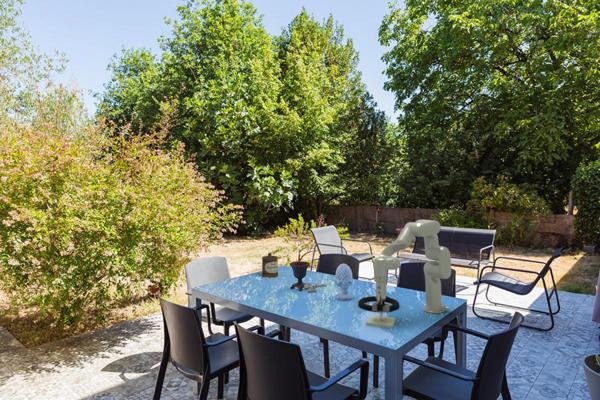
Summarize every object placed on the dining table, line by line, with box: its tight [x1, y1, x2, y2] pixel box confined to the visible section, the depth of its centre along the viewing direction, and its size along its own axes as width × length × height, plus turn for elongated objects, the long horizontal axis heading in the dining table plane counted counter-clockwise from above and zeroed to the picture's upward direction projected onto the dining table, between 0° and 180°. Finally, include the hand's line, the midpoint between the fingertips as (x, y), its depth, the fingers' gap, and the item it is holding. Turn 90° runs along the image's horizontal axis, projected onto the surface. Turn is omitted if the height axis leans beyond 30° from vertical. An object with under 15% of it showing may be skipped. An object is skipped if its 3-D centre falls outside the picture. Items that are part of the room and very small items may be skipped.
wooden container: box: [261, 252, 279, 279], centre depth 353 cm, size 15×15×22 cm
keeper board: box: [365, 312, 397, 329], centre depth 221 cm, size 15×14×6 cm
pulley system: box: [303, 282, 328, 293], centre depth 305 cm, size 27×5×15 cm
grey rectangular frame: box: [371, 301, 390, 313], centre depth 221 cm, size 9×6×4 cm, turn 68°
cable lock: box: [357, 295, 400, 312], centre depth 255 cm, size 28×4×30 cm
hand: (380, 308), depth 221 cm, fingers closed on grey rectangular frame, 6 cm apart
